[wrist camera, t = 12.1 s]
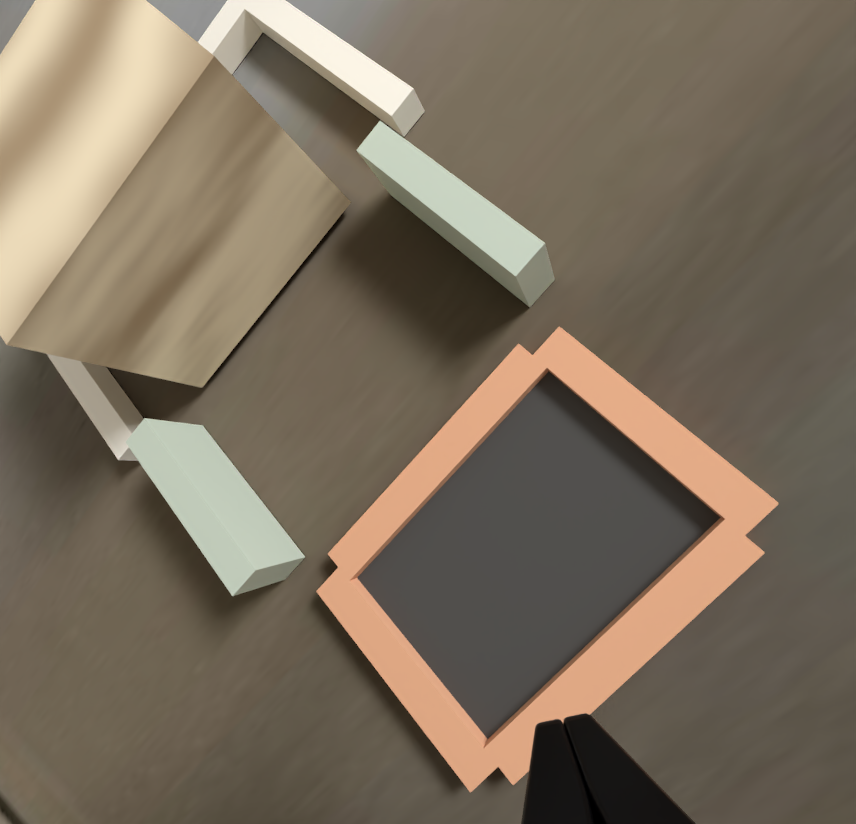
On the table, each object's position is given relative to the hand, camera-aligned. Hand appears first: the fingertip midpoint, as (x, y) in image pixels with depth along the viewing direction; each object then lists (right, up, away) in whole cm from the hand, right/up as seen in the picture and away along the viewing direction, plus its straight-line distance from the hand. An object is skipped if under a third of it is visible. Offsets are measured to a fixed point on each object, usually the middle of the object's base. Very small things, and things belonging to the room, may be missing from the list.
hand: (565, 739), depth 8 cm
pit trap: (+2, 0, +12) cm, 12 cm away
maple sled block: (-13, +14, +19) cm, 27 cm away
